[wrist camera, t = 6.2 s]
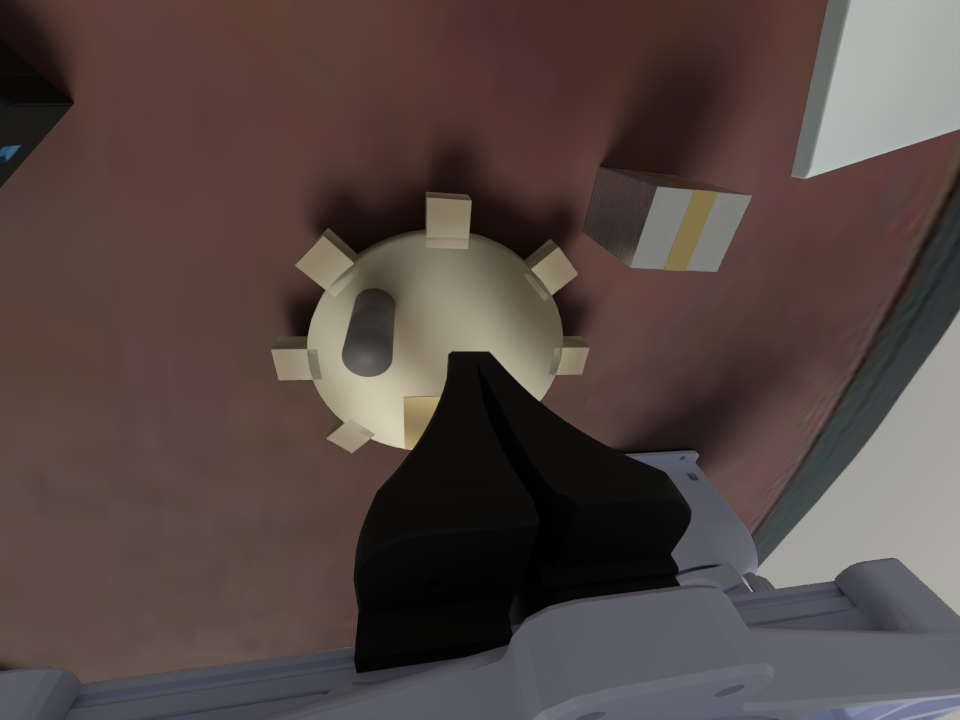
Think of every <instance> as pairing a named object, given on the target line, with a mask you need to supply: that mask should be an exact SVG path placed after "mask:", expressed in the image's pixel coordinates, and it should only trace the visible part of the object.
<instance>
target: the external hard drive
mask: <svg viewBox="0 0 960 720" xmlns="http://www.w3.org/2000/svg"><path fill="white" fill-rule="evenodd" d="M958 129H960V0H828V4H827V9H826V13H825V18H824V23H823V28H822V33H821V37H820V42H819V47H818V52H817V56H816V61H815V66H814V71H813V75H812V80H811V85H810V90H809V94H808V99H807V104H806V109H805V114H804V118H803V123H802V128H801V132H800V137H799V142H798V146H797V151H796V156H795V161H794V165H793V170H792V175H791V176H792V177H798V178H803V179H804V178H809V177H812V176H815V175H819V174H821V173H825V172H828V171H831V170H834V169H837V168H840V167H843V166H846V165H849V164H853V163H856V162H859V161H862V160H865V159H868V158H871V157H874V156H877V155H881V154H884V153H887V152H890V151H893V150H896V149H899V148H902V147H905V146H909V145H912V144H915V143H918V142H921V141H924V140H927V139H931V138H934V137H937V136H940V135H943V134H946V133H949V132H952V131H955V130H958Z"/></svg>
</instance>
